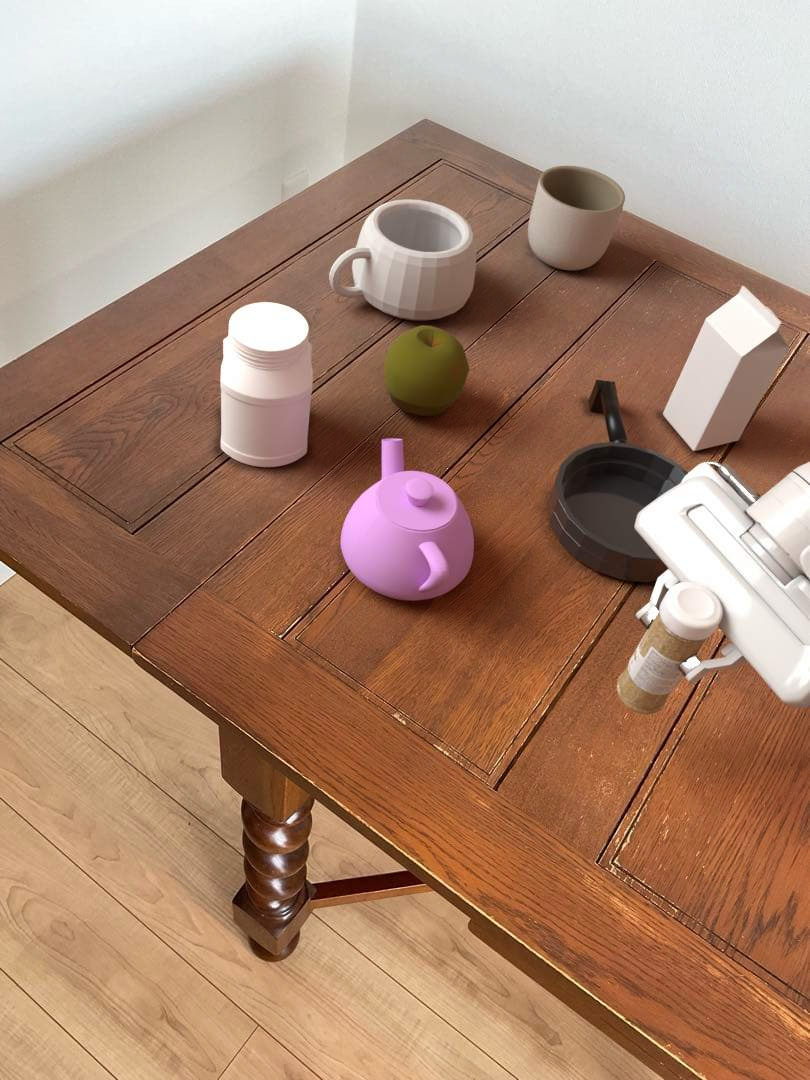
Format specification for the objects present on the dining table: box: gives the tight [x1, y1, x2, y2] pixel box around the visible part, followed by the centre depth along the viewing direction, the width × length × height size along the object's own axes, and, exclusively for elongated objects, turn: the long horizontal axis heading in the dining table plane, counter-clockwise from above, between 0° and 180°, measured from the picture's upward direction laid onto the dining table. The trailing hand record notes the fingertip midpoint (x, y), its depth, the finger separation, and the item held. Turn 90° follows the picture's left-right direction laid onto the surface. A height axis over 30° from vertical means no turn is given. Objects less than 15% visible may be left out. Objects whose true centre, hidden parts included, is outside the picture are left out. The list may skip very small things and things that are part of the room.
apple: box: [383, 325, 470, 417], centre depth 114 cm, size 10×10×11 cm
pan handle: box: [588, 379, 629, 444], centre depth 117 cm, size 2×13×5 cm, turn 0°
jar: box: [219, 301, 314, 468], centre depth 105 cm, size 12×10×15 cm
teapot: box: [340, 438, 475, 602], centre depth 98 cm, size 14×20×11 cm
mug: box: [328, 198, 477, 322], centre depth 129 cm, size 21×17×10 cm
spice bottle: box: [616, 582, 723, 715], centre depth 80 cm, size 5×5×13 cm
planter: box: [527, 165, 626, 271], centre depth 141 cm, size 12×12×11 cm
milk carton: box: [662, 285, 790, 452], centre depth 116 cm, size 7×7×19 cm
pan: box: [546, 441, 689, 583], centre depth 108 cm, size 17×17×4 cm
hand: (663, 649), depth 79 cm, fingers closed on spice bottle, 4 cm apart
